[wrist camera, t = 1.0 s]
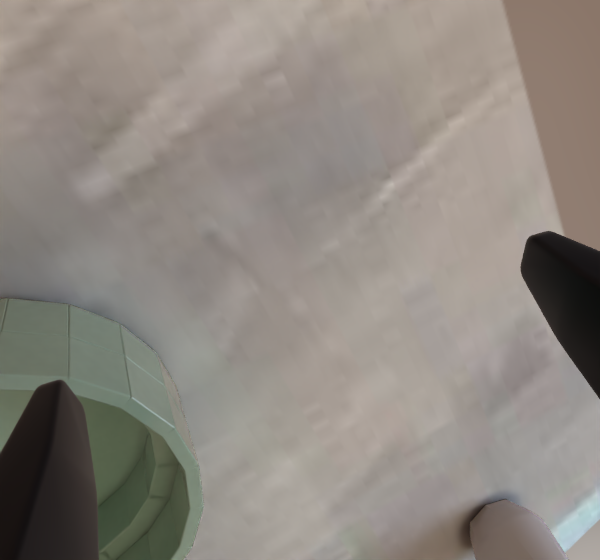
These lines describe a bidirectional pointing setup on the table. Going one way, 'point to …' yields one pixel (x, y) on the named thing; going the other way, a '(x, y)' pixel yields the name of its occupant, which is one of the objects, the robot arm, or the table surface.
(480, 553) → the salt shaker
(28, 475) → the robot arm
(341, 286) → the table surface
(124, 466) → the bowl
